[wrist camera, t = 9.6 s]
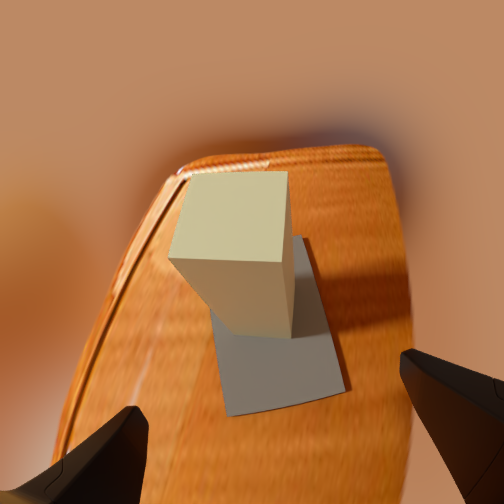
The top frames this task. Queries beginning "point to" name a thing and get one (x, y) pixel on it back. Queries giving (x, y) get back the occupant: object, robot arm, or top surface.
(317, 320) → the mat
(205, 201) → the block
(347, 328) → the top surface
